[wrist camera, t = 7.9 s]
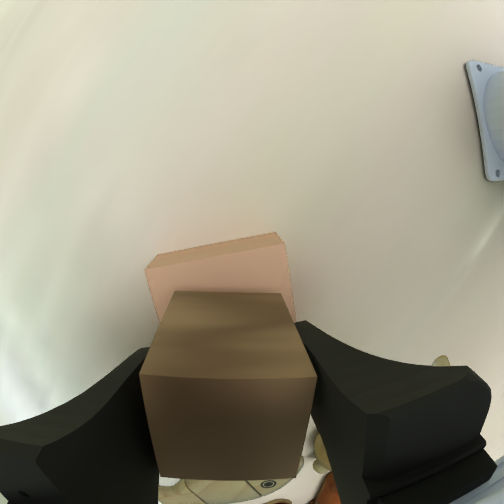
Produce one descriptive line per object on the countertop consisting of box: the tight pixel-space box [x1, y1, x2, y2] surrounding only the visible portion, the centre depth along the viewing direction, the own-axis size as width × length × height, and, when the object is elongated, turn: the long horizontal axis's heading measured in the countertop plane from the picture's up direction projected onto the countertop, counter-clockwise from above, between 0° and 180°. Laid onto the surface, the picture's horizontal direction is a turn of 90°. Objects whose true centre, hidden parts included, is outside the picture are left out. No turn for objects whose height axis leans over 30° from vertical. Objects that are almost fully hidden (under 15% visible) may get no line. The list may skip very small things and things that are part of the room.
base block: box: [145, 232, 296, 323], centre depth 15 cm, size 6×6×3 cm
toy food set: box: [158, 355, 450, 504], centre depth 20 cm, size 26×16×4 cm, turn 123°
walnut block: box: [139, 291, 317, 481], centre depth 10 cm, size 4×4×6 cm
